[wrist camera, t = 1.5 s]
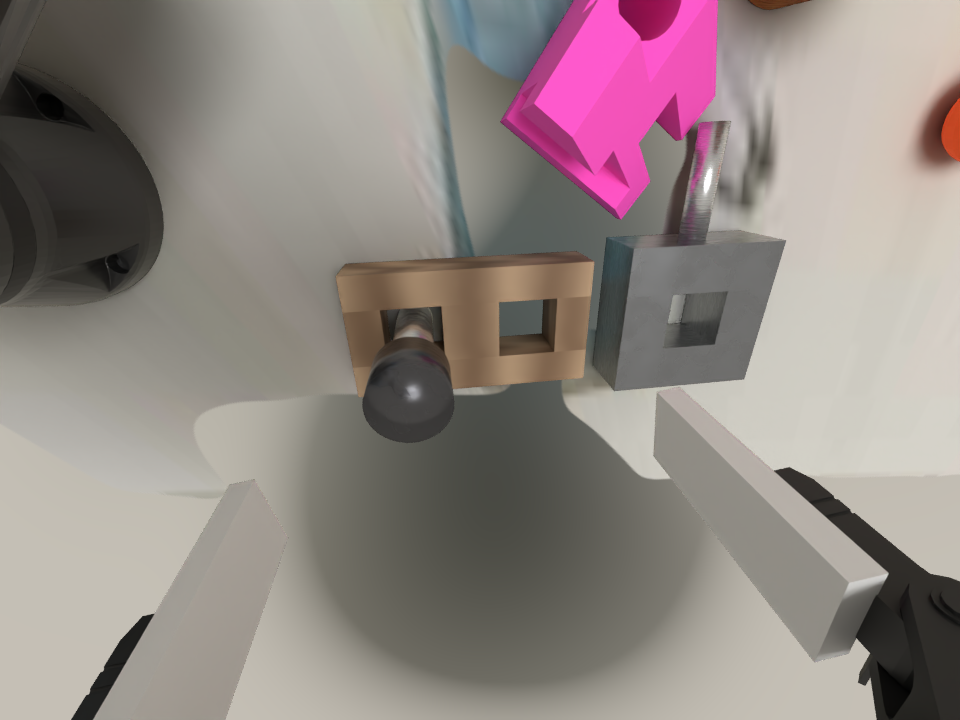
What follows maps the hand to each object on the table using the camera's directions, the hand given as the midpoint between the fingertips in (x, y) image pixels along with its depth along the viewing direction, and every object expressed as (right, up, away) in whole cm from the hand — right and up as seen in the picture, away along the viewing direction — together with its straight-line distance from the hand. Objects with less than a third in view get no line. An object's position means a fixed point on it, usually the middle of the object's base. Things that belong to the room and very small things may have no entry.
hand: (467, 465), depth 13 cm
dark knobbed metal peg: (-5, +7, +21) cm, 23 cm away
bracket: (+10, +22, +16) cm, 29 cm away
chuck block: (+17, +12, +22) cm, 30 cm away
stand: (-1, +7, +22) cm, 23 cm away
